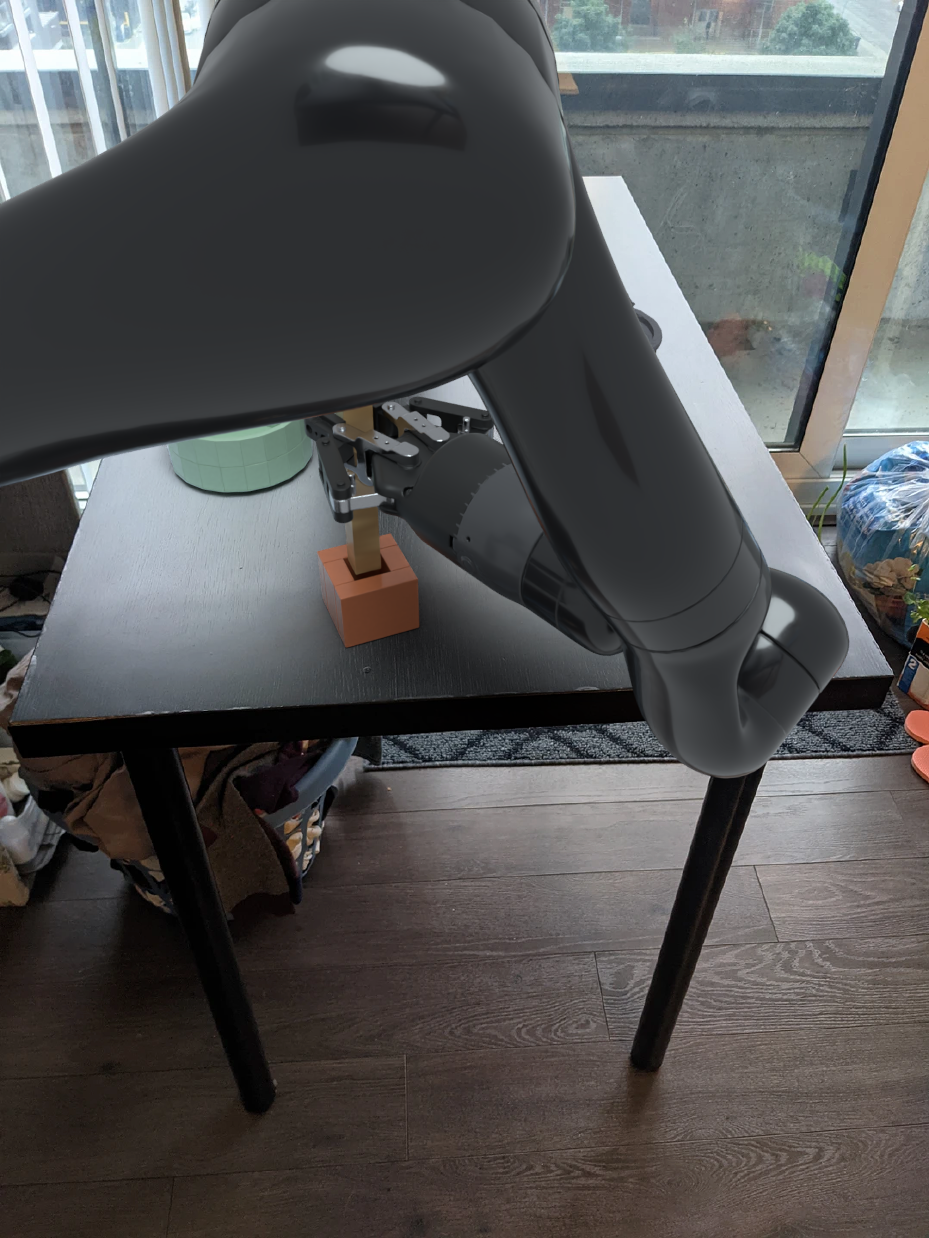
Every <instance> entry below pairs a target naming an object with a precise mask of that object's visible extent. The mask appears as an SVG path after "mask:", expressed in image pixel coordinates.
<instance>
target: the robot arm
mask: <svg viewBox="0 0 929 1238" xmlns="http://www.w3.org/2000/svg"><path fill="white" fill-rule="evenodd" d="M561 98H562V97H561V91H560V78H559V73H558V65H557V59H556V54H555V49H554V43H553V41H552V38H551V35H550V32H549V28H548V25H547V22H546V19H545V16H544V13H543V11H542V9H541V6H540V4H539V0H215V1H214V3H213V7H212V10H211V12H210V15H209V18H208V22H207V26H206V29H205V33H204V39H203V43H202V49H201V53H200V56H199V60H198V64H197V66H196V71H195V75H194V78H193V82H192V85H191V87H190V88H189V90H188V91H187V92H186V93H185V94H184V95H183V96H182V97H181V98H180V99H179V100H178V102H176V104H174V105H173V106H172V107H171V108H170V109H168V110H167V111H166V112H164V113H163V114H162V115H160V116H159V117H157V118H156V119H155V120H152V121H151V122H150V123H148V124H147V125H145V126H144V127H142V128H141V129H139V130H137V131H136V132H134V133H133V134H131V135H129V136H127V137H126V138H124V139H123V140H122V141H120V142H119V143H117V144H115V145H114V146H112V147H109V148H108V149H107V150H105V151H102V152H101V153H99V154H98V155H96V156H93V157H92V158H90V159H88V160H86V161H85V162H83V163H81V164H79V165H77V166H75V167H73V168H70V169H69V170H67V171H64V172H62V173H61V174H58V175H57V176H55V177H52V178H49V179H48V180H46V181H44V182H42V183H40V184H37V185H36V186H33V187H32V188H29V189H27V190H25V191H24V192H21V193H18V194H16V195H14V196H13V197H11V198H9V199H6V200H4V201H2V202H0V488H4V487H7V486H11V485H16V484H18V483H22V482H25V481H30V480H32V479H36V478H40V477H43V476H47V475H50V474H51V475H52V474H54V473H56V472H60V471H63V470H67V469H69V468H74V467H78V466H81V465H85V464H87V463H92V462H96V461H100V460H103V459H106V458H107V459H108V458H111V457H115V456H119V455H124V454H127V453H128V454H129V453H134V452H138V451H142V450H147V449H152V448H156V447H163V446H167V445H168V444H173V443H178V442H184V441H189V440H194V439H200V438H205V437H210V436H216V435H221V434H227V433H232V432H238V431H243V430H249V429H254V428H259V427H265V426H270V425H276V424H281V423H287V422H292V421H297V420H302V419H304V428H305V433H306V435H307V436H308V437H309V438H311V439H313V442H315V447H316V448H315V449H316V452H317V460H318V477H319V479H320V482H321V484H322V485H321V486H322V488H323V491H324V494H325V497H326V500H327V502H328V506H329V508H330V512H331V515H332V518H333V520H334V521H335V522H336V523H339V524H345V523H348V522H350V521H352V520H353V518H354V515H353V510H359V509H365V508H371V507H377V508H378V511H380V512H381V513H383V514H385V515H389V516H394V517H398V518H400V519H402V520H404V521H405V522H406V524H408V526H409V527H410V528H411V530H412V531H413V532H414V534H415V535H416V536H417V537H418V538H419V539H420V541H422V542H423V543H425V544H426V545H427V546H429V547H430V548H432V549H433V550H434V551H436V552H437V553H439V554H440V555H441V556H443V557H444V558H446V559H447V560H449V562H451V563H453V564H454V565H456V566H458V568H460V569H462V570H463V571H464V572H466V573H467V574H469V575H470V576H472V577H473V578H474V579H476V580H477V581H479V582H480V583H482V584H483V585H484V586H486V587H487V588H489V589H490V590H491V591H493V592H495V593H497V594H498V595H500V596H501V597H504V598H505V599H507V600H509V601H511V602H514V603H516V604H518V605H519V606H522V607H523V608H525V609H526V610H528V611H530V612H531V613H533V614H534V615H536V616H537V617H538V618H540V619H542V620H543V621H544V622H545V623H547V624H549V626H551V627H553V628H554V629H556V630H557V631H559V632H560V633H562V634H563V635H564V636H565V637H566V638H568V639H570V640H571V641H573V642H574V643H575V644H577V645H579V646H580V647H581V648H583V649H585V650H587V651H588V652H590V653H592V654H595V655H598V656H602V657H611V656H615V655H619V654H621V653H622V654H623V657H624V661H625V664H626V669H627V672H628V677H629V682H630V686H631V689H632V692H633V696H634V698H635V702H636V704H637V706H638V709H639V711H640V713H641V716H642V718H643V719H644V721H645V722H646V724H647V727H648V728H649V730H650V731H651V733H652V734H653V736H654V737H655V739H656V740H657V741H658V742H659V743H660V744H661V746H662V747H663V748H664V749H665V750H666V751H667V752H668V753H669V754H670V755H671V756H672V757H673V758H675V759H676V760H677V761H678V762H679V763H681V764H683V765H684V766H686V767H687V768H688V769H690V770H693V771H695V772H697V773H699V774H701V775H705V776H708V777H712V778H718V779H734V778H740V777H743V776H747V775H750V774H752V773H754V772H756V771H757V770H758V769H760V768H762V767H763V766H764V765H765V764H766V763H767V762H768V761H769V760H771V758H772V757H773V756H774V754H775V753H776V752H777V751H778V749H779V748H781V746H782V744H783V743H784V742H785V741H786V739H787V737H788V736H789V735H790V733H791V732H792V731H793V730H794V728H796V726H797V725H798V723H799V722H800V720H801V719H802V718H803V716H804V715H805V714H806V713H807V711H808V710H809V709H810V707H811V706H812V705H813V704H814V703H815V702H816V700H817V699H818V697H819V696H820V694H821V693H822V692H823V691H825V688H826V687H827V686H828V684H829V683H830V682H831V681H832V679H833V678H834V677H835V675H836V674H837V673H838V672H839V670H840V669H841V667H842V665H843V664H844V662H845V660H846V658H847V656H848V653H849V650H850V635H849V630H848V628H847V625H846V624H847V623H846V621H845V620H844V618H843V617H842V615H841V613H840V611H839V609H838V608H837V606H836V605H835V604H834V603H833V602H832V601H831V600H830V599H829V598H828V596H827V595H826V594H824V593H823V592H822V591H821V590H820V589H818V588H817V587H815V586H814V585H813V584H811V583H809V582H807V581H805V580H803V579H801V578H800V577H797V576H796V575H793V574H791V573H789V572H786V571H784V570H780V569H777V568H774V567H771V566H769V565H768V562H767V559H766V557H765V555H764V553H763V550H762V548H761V547H760V545H759V543H758V541H757V539H756V536H755V535H754V534H753V531H752V530H751V528H750V526H749V524H748V522H747V520H746V518H745V517H744V515H743V513H742V510H741V509H740V507H739V505H738V503H737V501H736V499H735V498H734V495H733V494H732V492H731V490H730V489H729V486H728V485H727V483H726V481H725V479H724V477H723V476H722V474H721V472H720V470H719V469H718V466H717V464H716V463H715V461H714V459H713V458H712V455H711V454H710V452H709V450H708V448H707V447H706V444H705V443H704V441H703V440H702V438H701V435H700V434H699V432H698V430H697V428H696V427H695V425H694V423H693V421H692V419H691V417H690V416H689V413H688V412H687V410H686V408H685V406H684V404H683V402H682V401H681V399H680V397H679V395H678V393H677V391H676V390H675V388H674V386H673V384H672V382H671V380H670V378H669V377H668V375H667V372H666V370H665V369H664V367H663V365H662V363H661V361H660V359H659V357H658V355H657V352H656V353H655V351H654V349H653V347H652V345H651V343H650V341H649V339H648V337H647V335H646V333H645V331H644V329H643V327H642V325H641V323H640V321H639V319H638V316H637V314H636V312H635V310H634V308H635V306H633V305H632V303H631V301H630V299H631V297H630V295H629V293H628V292H627V290H626V287H625V285H624V282H623V280H622V277H621V275H620V273H619V270H618V268H617V265H616V263H615V260H614V258H613V256H612V254H611V251H610V249H609V246H608V243H607V241H606V239H605V236H604V234H603V231H602V228H601V226H600V223H599V220H598V217H597V215H596V212H595V210H594V207H593V204H592V201H591V199H590V196H589V194H588V190H587V186H586V184H585V181H584V177H583V174H582V171H581V169H580V165H579V161H578V159H577V156H576V153H575V149H574V145H573V141H572V138H571V134H570V131H569V127H568V124H567V120H566V117H565V113H564V110H563V104H562V99H561ZM627 293H628V294H627ZM628 295H629V296H628ZM629 297H630V298H629ZM466 376H467V377H468V379H469V380H470V382H471V385H472V386H473V387H474V389H475V391H476V393H477V394H478V396H479V397H480V399H481V401H482V404H483V405H484V408H485V409H481V408H476V407H471V406H468V405H467V406H466V405H462V404H457V403H452V402H448V401H443V400H438V399H435V398H428V397H425V396H424V397H423V396H414V395H418V394H421V393H423V392H428V391H431V390H435V389H436V388H439V387H442V386H444V385H446V384H449V383H452V382H454V381H456V380H459V379H461V378H464V377H466ZM411 396H413V397H411ZM407 397H410V398H409V400H408V404H406V405H401V404H399V403H398V402H395V401H396V400H399V399H404V398H407ZM371 405H372V407H373V426H374V430H373V429H371V430H369V431H367V432H363V431H361V430H359V429H357V428H355V427H353V426H351V425H349V424H346V420H343V419H342V418H341V417H339V416H338V415H336V413H339V412H344V411H349V410H354V409H358V408H362V407H367V406H371ZM428 415H429V416H434V417H438V418H439V419H440V425H436V424H433V423H432V422H431V421H430V420H429V419H428ZM494 429H495V430H496V432H497V434H498V436H499V439H500V441H501V442H502V443H501V442H499V440H496V439H495V438H494V435H495V434H494V432H495V430H494ZM354 448H355V449H356V452H357V453H355V452H354ZM345 468H347V469H349V470H351V471H353V472H348V473H347V471H346V469H345ZM354 472H355V473H356V474H357V476H358V478H359V479H356V478H355V473H354ZM363 483H364V484H366V485H364V484H363ZM367 485H368V486H367Z"/></svg>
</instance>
